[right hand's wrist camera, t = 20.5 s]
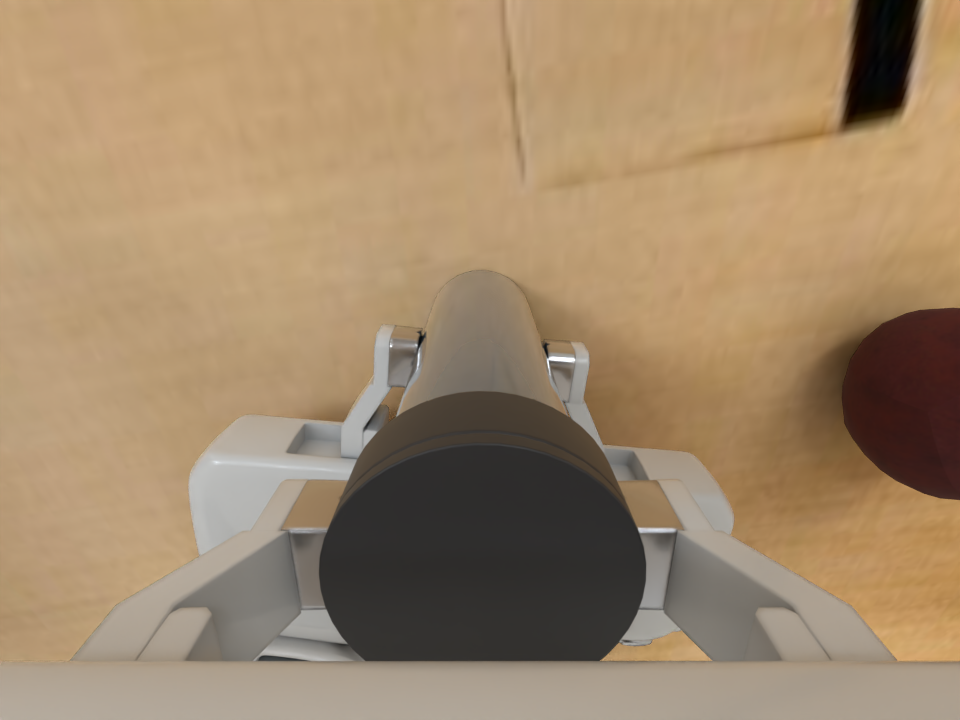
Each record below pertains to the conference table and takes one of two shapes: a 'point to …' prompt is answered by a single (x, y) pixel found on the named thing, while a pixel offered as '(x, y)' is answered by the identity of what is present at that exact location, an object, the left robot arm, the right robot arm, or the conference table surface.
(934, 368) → the potato
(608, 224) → the conference table surface
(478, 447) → the lid
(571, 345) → the left robot arm
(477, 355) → the grey cylinder
